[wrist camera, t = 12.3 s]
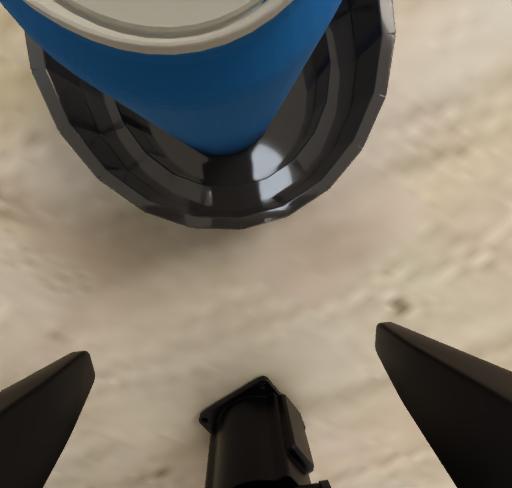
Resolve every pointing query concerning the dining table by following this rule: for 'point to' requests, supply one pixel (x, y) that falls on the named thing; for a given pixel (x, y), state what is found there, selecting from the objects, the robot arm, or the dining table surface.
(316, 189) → the dark grey bowl
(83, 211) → the dining table surface
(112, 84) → the beverage can
